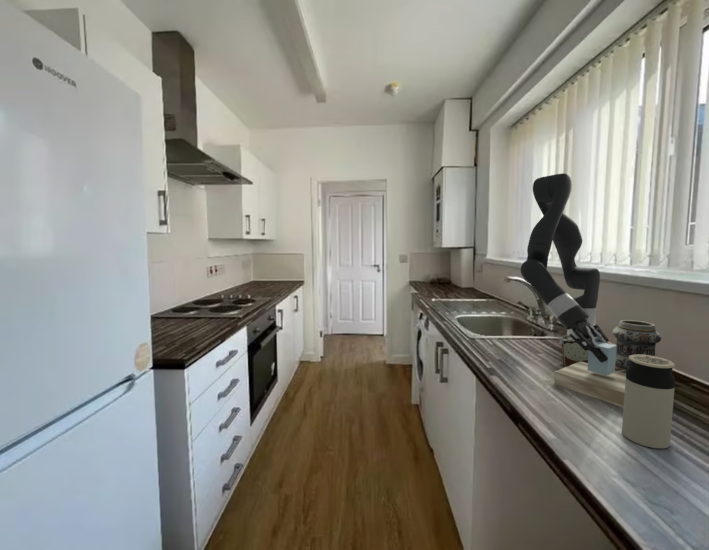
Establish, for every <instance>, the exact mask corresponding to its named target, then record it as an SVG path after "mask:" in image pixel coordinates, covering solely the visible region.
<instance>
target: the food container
mask: <svg viewBox="0 0 709 550" xmlns="http://www.w3.org/2000/svg"><path fill="white" fill-rule="evenodd" d="M559 344H560V345H561V352H562V353H561V355H562V357H561V359H562V366H563V368H565V367H567V366H570V365H573V364H575V363H578V362H580V361H581V362H585V363H588V353H589V350H587V351H585V350H584V349H583V348H582V347H581V346H580V345H579V344H578V343H577V342H576V341H574V340H573V339H572V338H571V337H570V335H567V334H565V335H562V336H561V337H560V339H559Z"/></svg>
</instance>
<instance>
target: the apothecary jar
mask: <svg viewBox="0 0 709 550" xmlns="http://www.w3.org/2000/svg"><path fill="white" fill-rule="evenodd" d="M612 335H613V336H614V337H615V338H616V345H617V347H616V355H617V356H616V361H615V366H618V367H619V368H621V369H620V370H617V371H618V372H622V373H626V370H627V368H628V367H629V366H630V365H631V363H630V359H629V356H630V355H635V354H640V355H650V356H656V345H657V344H658V343H660V342H661V341H662V335H661V334H660V333H659V332H658V331H657V329H656V326H655V324H654V323H651V322H647V321H643V320H642V321H641V320H634V319H633V320H632V319H622V320H619V324H618V326H615V327H614V328H613V330H612Z"/></svg>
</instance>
